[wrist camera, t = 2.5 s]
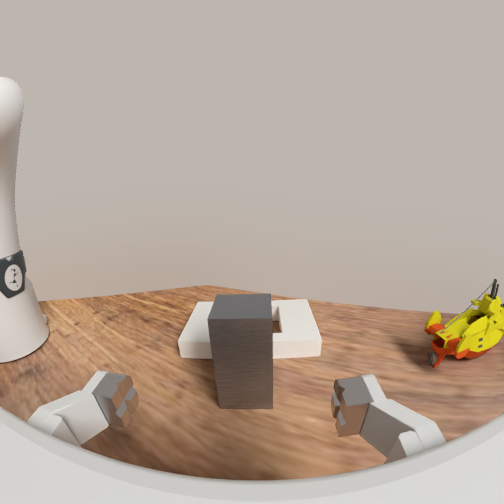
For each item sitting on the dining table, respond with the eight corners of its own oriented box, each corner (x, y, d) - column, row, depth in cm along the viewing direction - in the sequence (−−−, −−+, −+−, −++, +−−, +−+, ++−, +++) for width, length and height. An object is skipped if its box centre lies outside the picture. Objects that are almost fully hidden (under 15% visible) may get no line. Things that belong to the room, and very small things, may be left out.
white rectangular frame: (181, 357, 31) (177, 340, 31) (199, 315, 43) (198, 301, 42) (320, 356, 31) (321, 338, 30) (306, 313, 42) (306, 299, 42)
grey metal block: (219, 408, 23) (207, 318, 21) (225, 377, 28) (216, 294, 25) (272, 408, 23) (272, 318, 20) (271, 377, 27) (270, 293, 25)
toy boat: (412, 356, 27) (429, 281, 25) (490, 327, 29) (505, 266, 26) (440, 385, 21) (467, 302, 19) (516, 344, 22) (534, 278, 20)
